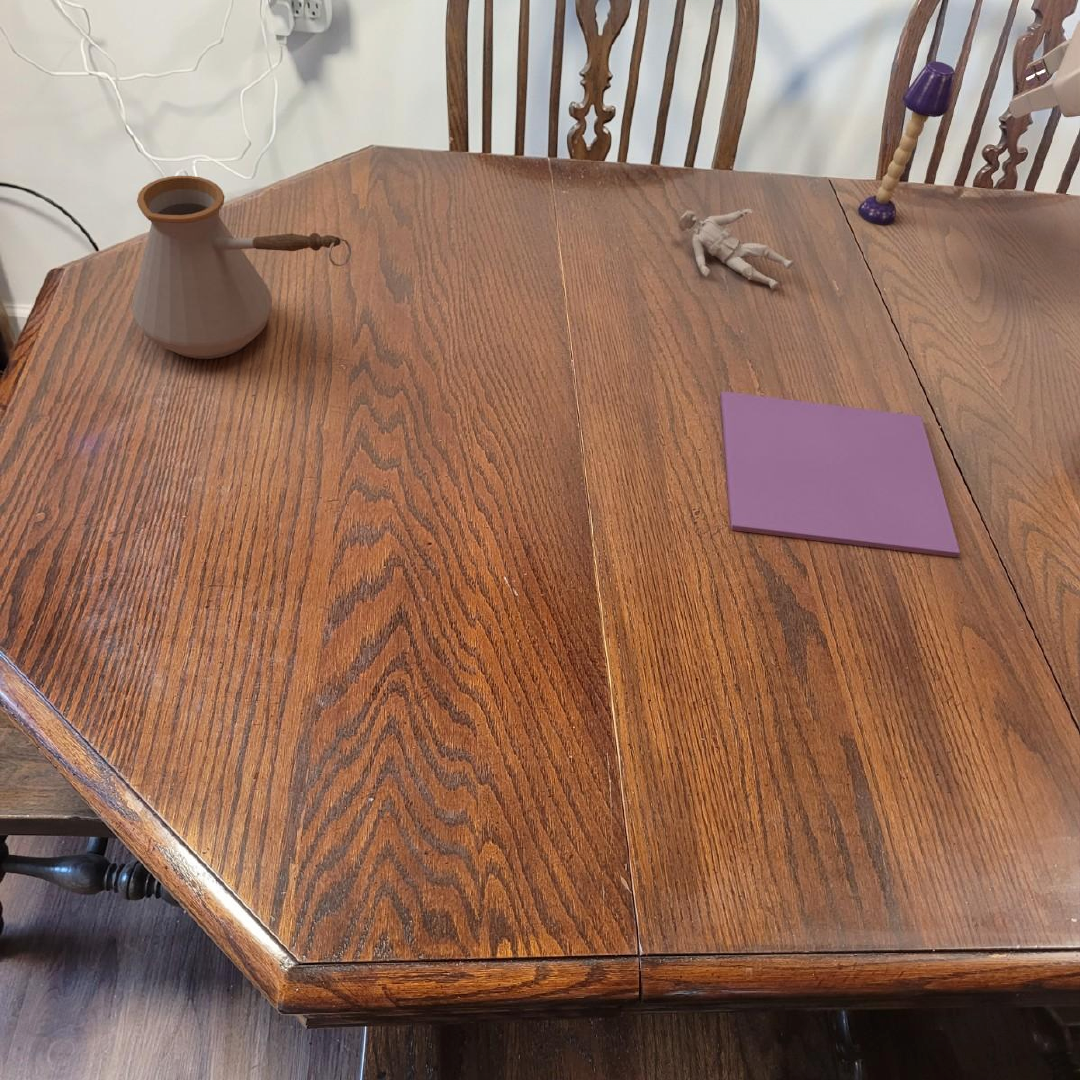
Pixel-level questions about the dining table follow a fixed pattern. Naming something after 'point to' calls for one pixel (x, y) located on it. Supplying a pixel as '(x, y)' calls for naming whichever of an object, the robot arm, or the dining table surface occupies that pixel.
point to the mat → (833, 475)
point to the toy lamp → (911, 135)
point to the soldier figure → (728, 245)
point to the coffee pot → (203, 271)
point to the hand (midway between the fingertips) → (1019, 91)
